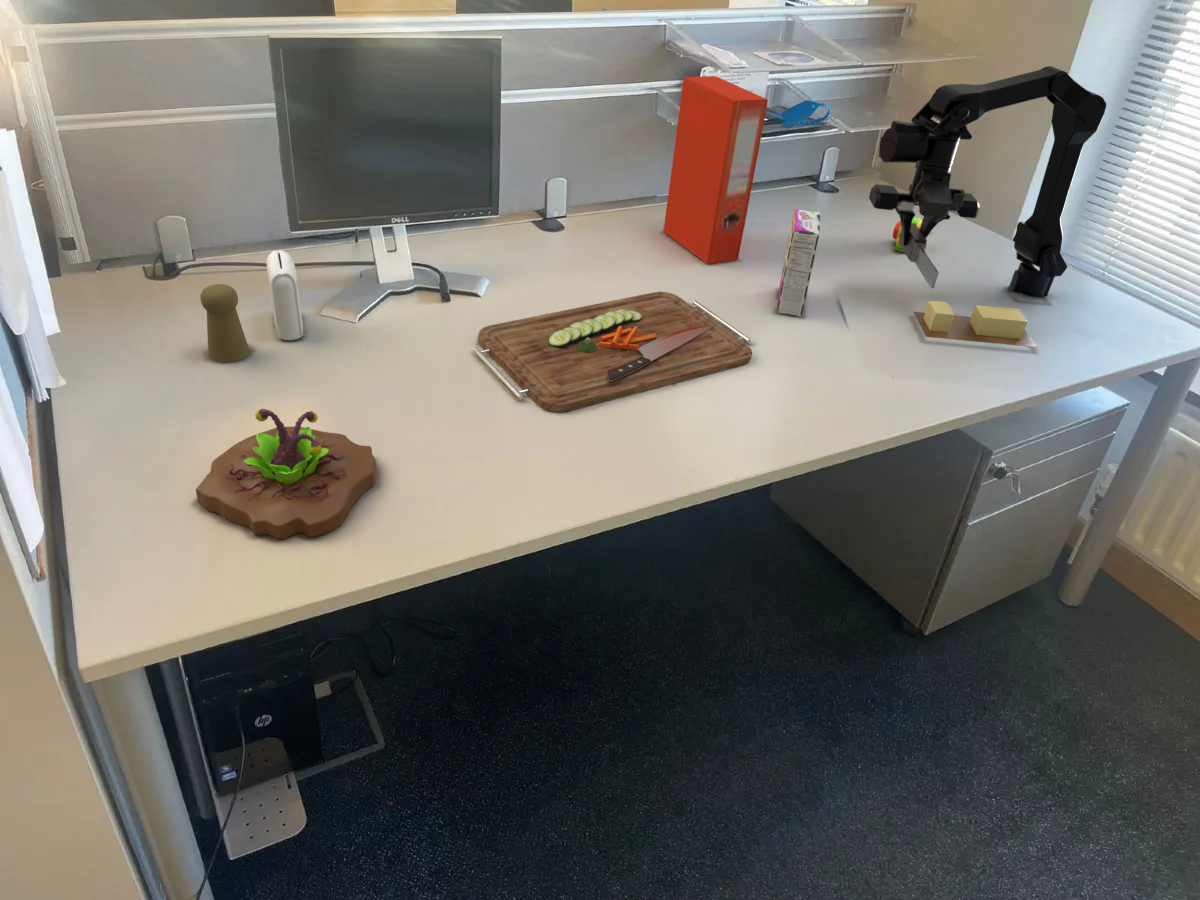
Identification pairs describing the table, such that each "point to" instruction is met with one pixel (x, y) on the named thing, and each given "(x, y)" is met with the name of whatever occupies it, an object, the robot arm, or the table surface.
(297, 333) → the photo printer
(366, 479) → the plant
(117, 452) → the table surface
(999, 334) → the butter block
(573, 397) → the chopping board
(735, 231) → the file binder
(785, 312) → the candy bar box
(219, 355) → the olive brown pawn
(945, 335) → the butter board
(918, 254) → the knife
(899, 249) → the toy measuring tape
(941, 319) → the butter slice
